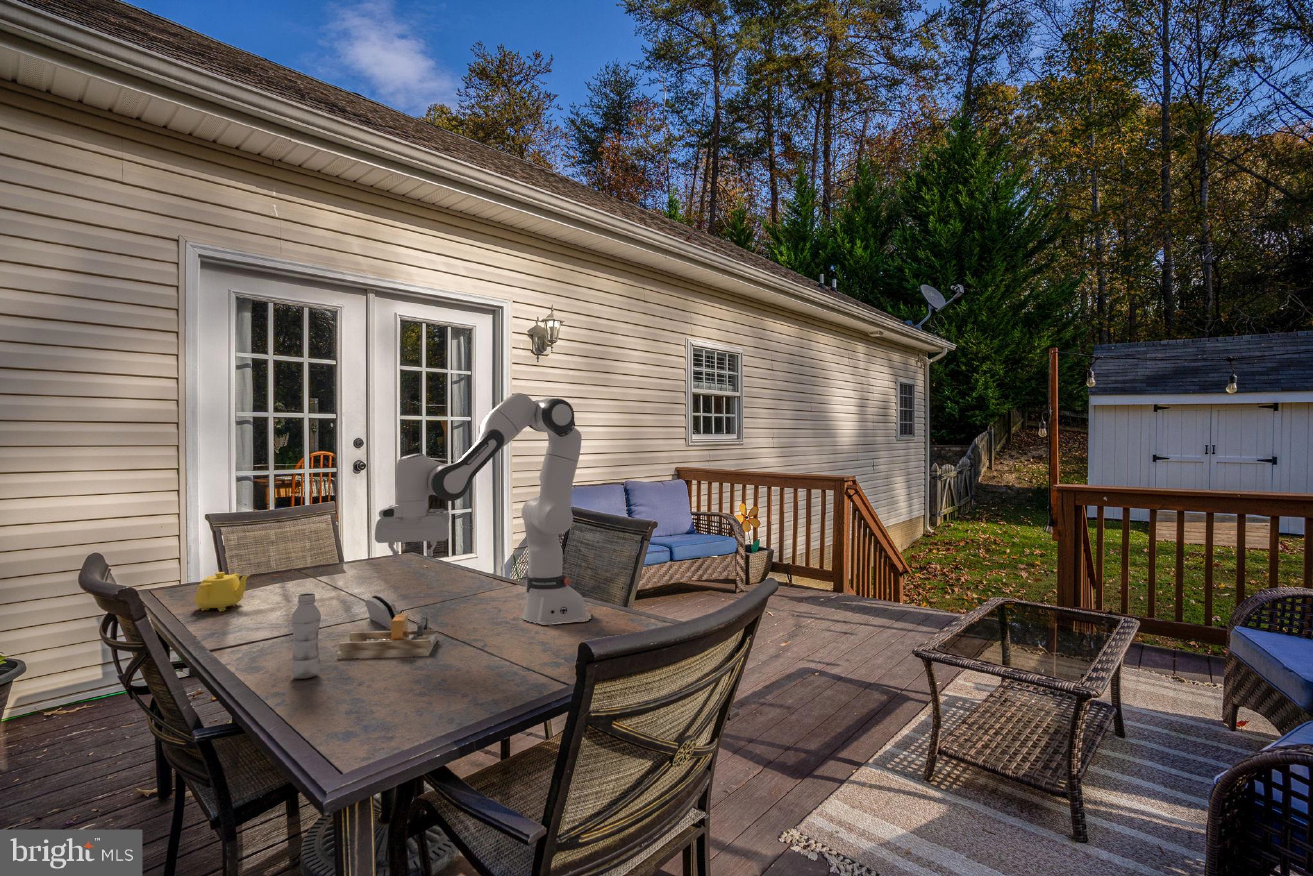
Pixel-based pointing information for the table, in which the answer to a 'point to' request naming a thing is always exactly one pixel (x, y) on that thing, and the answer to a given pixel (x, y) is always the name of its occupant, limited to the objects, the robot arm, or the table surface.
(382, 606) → the grey rounded slab
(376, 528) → the robot arm
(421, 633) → the keeper hook
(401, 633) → the chain end link
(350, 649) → the guide board
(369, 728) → the table surface
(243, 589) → the teapot
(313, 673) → the plastic bottle
